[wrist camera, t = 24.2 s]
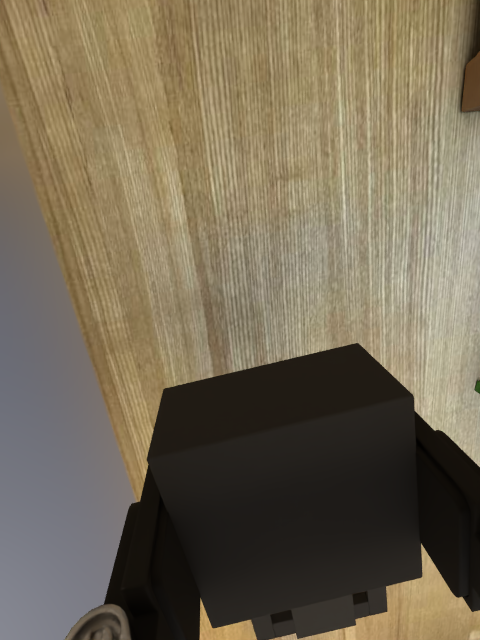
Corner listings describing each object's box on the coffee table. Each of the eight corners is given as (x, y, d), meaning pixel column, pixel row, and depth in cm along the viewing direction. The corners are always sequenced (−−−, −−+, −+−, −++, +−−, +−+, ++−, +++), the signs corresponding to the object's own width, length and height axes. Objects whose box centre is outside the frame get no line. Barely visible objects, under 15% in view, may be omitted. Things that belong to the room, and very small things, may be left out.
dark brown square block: (290, 605, 37) (297, 639, 34) (282, 567, 35) (288, 600, 32) (344, 592, 37) (356, 625, 34) (339, 554, 35) (351, 585, 32)
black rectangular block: (211, 531, 12) (211, 629, 9) (163, 388, 10) (145, 459, 7) (374, 491, 12) (423, 578, 9) (357, 341, 10) (414, 395, 7)
